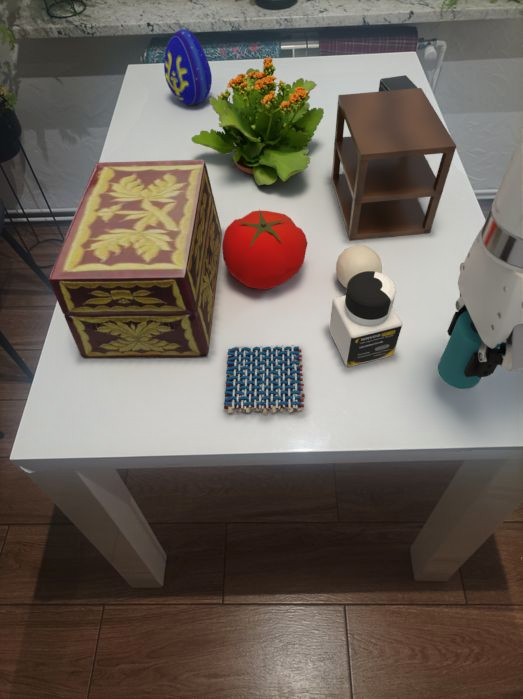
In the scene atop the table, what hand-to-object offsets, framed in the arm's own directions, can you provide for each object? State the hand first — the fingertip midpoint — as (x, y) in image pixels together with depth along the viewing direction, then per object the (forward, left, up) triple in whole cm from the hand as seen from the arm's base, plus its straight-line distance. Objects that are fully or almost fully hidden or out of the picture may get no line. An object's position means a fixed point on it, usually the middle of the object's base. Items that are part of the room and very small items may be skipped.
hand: (468, 352), depth 56 cm
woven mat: (+24, -4, -9) cm, 26 cm away
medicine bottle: (+10, -9, -9) cm, 16 cm away
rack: (0, -40, -9) cm, 41 cm away
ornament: (+34, -85, -9) cm, 92 cm away
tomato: (+22, -25, -9) cm, 35 cm away
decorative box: (+40, -24, -9) cm, 47 cm away
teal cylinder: (0, 0, -4) cm, 4 cm away
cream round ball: (+8, -21, -9) cm, 24 cm away
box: (-8, -62, -9) cm, 63 cm away
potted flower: (+21, -58, -9) cm, 62 cm away
